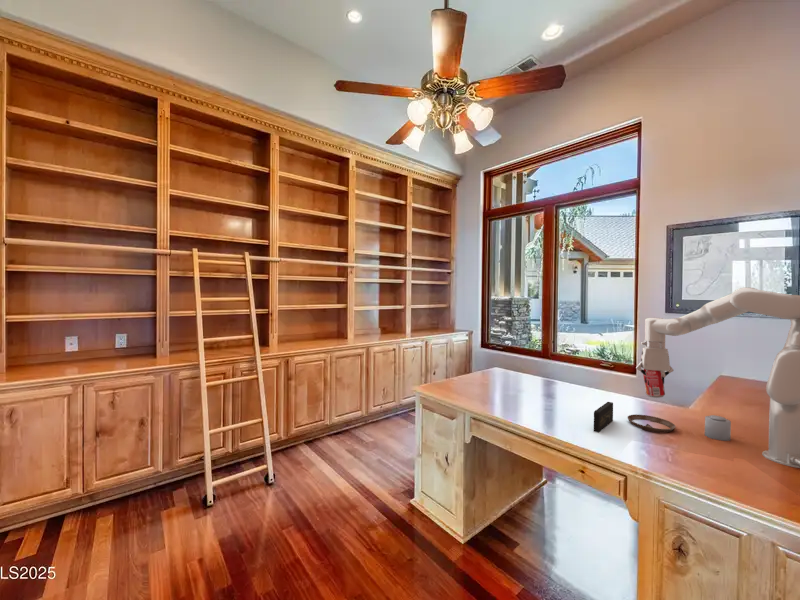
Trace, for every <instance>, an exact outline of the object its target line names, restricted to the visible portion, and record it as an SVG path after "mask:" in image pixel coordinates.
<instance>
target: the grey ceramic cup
mask: <svg viewBox="0 0 800 600" xmlns="http://www.w3.org/2000/svg"><path fill="white" fill-rule="evenodd" d="M731 426H732V421H731V420H730V419H728V418H726V417H724V416H720V415H712V414H711V415H705V416H704V436H705V437H706V436H707V438H709V439H712V440H716V441H717V440H718V441H724V442H728V441H729V442H730V441H731V434H732V433H731V431H732V427H731Z"/></svg>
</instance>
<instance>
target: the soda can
mask: <svg viewBox="0 0 800 600" xmlns="http://www.w3.org/2000/svg"><path fill="white" fill-rule="evenodd" d="M643 370H644V371H645V373H646V369H644V368H643ZM646 375H647V376H645V375H644V374H643V373H642V376H643V382H644V380H645V378H646V380H647V383H645V382H644V383H643V384H644V389H645V394H646V395H647V396H648V397H650V398H654V399H655V398H656V399H657V398H658V399H660V398H663V397H664V396H665V395H666V393H665V383H664V384H663V382H662V372H661V371H654V370H648V371H647V374H646ZM648 380H649V385H648Z"/></svg>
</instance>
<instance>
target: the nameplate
mask: <svg viewBox="0 0 800 600" xmlns="http://www.w3.org/2000/svg"><path fill="white" fill-rule="evenodd" d="M613 421H614V403H613V402H611V401H607V402H605V403H604V404H602V405H601V406H600V407H598V408H597V409H595V410H594V412H593V432H595V433H600V432H601V431H602V430H603V429H605V428H606V427H608V426H609V425H610V424H611V423H613Z"/></svg>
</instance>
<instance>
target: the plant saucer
mask: <svg viewBox="0 0 800 600" xmlns="http://www.w3.org/2000/svg"><path fill="white" fill-rule="evenodd" d="M627 420H628V421H629V423H630V424H631V425H633V426H635V427H637V428H640V429H642V430H644V431H647V432H650V433H656V434H661V433H670V432H672V431H674V429H676V425H675V424H674V423H673V422H671V421H669V420H667V419H664V418H660V417H656V416H652V415H647V414H629V415H627ZM637 420H640V421H641V420H642V421H649V422H651V423H657V424H660V425H663V426H665V427H667V428H658V427H653V426H652V425H650V424H649V423H646V424H645V425H643V424H640V423H637V422H634V421H637Z"/></svg>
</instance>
